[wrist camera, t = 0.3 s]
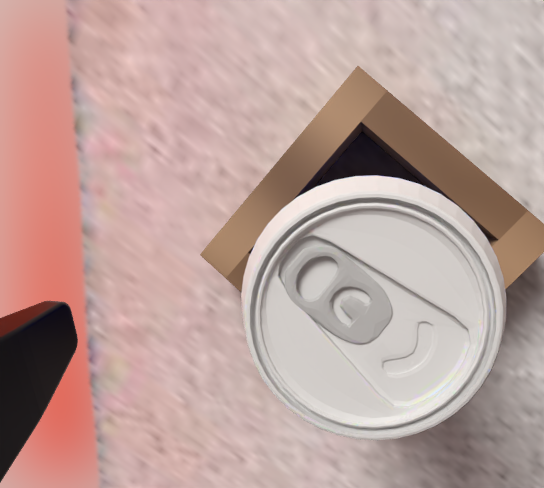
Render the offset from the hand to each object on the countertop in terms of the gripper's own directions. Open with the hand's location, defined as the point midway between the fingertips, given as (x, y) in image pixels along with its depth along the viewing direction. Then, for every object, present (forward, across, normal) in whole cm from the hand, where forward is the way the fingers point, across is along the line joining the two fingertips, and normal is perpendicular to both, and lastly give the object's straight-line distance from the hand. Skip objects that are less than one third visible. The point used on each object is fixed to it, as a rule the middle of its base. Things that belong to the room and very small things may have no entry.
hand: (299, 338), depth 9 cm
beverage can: (+15, -1, +4) cm, 16 cm away
